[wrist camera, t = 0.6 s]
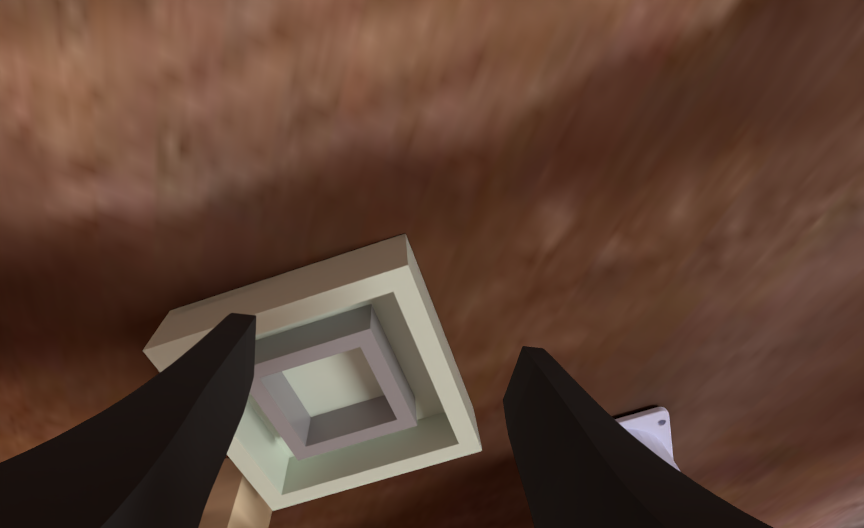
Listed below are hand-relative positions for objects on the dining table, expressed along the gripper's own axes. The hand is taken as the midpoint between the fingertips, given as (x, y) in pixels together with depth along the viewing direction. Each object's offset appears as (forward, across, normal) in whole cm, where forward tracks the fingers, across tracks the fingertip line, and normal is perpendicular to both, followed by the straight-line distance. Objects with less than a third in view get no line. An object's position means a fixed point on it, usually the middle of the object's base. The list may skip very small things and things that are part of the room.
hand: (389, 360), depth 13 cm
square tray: (+10, +1, +9) cm, 13 cm away
